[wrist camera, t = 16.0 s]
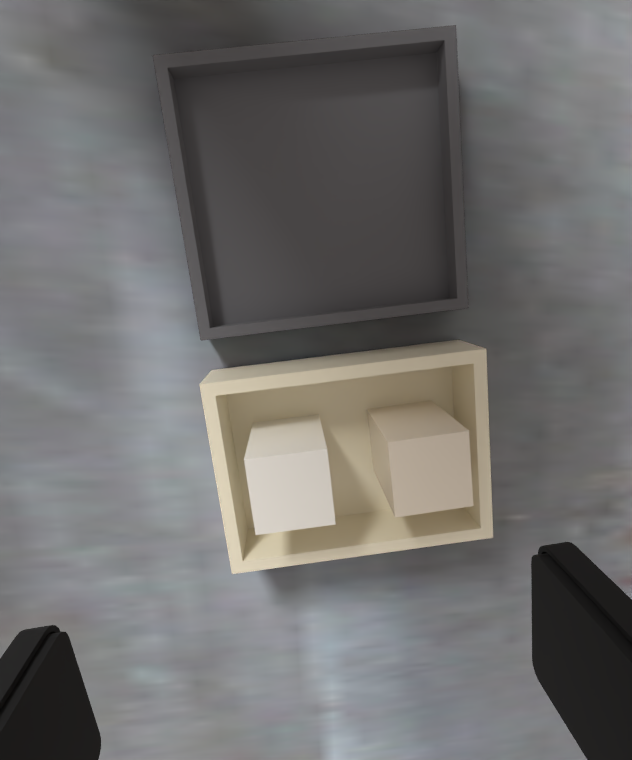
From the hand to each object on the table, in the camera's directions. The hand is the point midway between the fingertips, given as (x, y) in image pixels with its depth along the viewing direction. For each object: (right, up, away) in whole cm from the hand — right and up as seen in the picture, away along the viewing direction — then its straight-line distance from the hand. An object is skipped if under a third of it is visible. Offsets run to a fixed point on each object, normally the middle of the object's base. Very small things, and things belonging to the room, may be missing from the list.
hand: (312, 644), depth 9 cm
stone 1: (-1, +1, +19) cm, 19 cm away
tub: (+2, +1, +20) cm, 20 cm away
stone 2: (+5, +2, +19) cm, 20 cm away
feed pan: (0, +16, +17) cm, 23 cm away
